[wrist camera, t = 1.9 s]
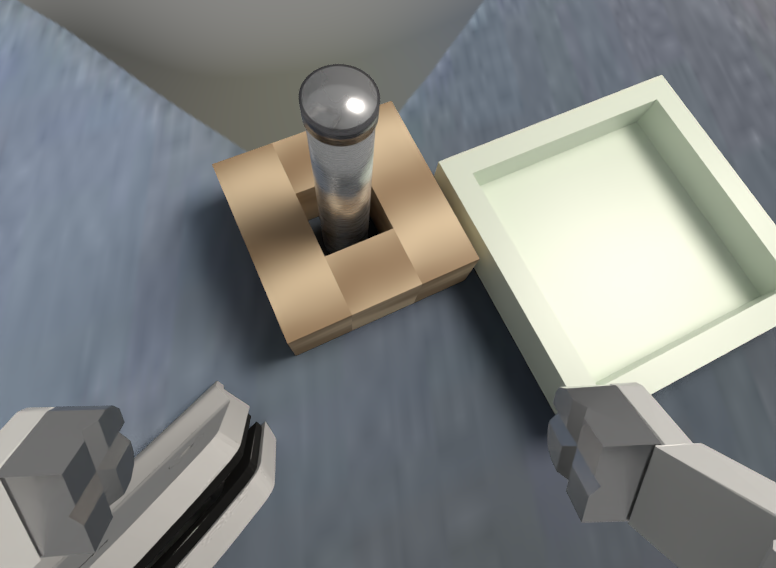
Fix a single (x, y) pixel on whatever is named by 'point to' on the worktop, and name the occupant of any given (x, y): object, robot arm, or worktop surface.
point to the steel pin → (341, 149)
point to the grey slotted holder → (188, 491)
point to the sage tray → (616, 241)
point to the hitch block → (357, 262)
